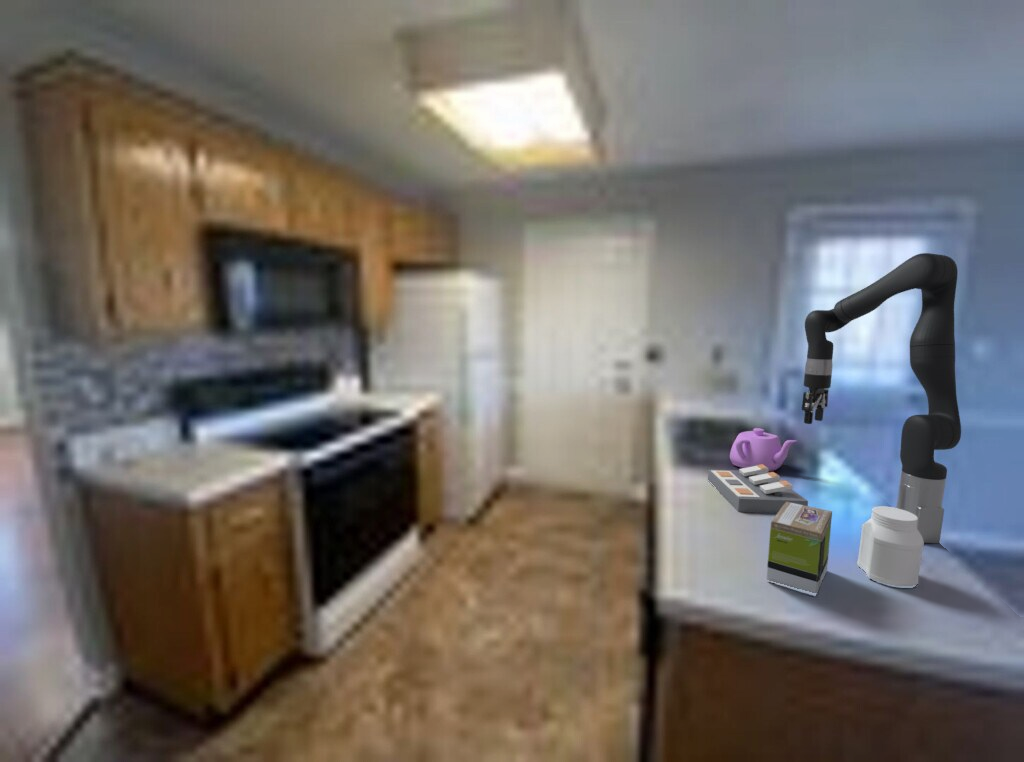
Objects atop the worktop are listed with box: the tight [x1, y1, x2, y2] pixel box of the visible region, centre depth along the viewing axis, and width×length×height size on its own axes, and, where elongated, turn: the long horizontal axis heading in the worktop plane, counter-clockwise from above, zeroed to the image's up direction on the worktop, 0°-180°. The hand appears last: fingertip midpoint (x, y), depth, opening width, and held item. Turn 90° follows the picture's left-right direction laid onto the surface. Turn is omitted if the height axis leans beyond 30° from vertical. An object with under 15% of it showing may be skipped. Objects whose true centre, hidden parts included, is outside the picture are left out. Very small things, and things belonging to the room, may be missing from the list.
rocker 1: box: [738, 464, 770, 476], centre depth 171 cm, size 4×8×1 cm, turn 87°
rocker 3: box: [760, 479, 794, 494], centre depth 155 cm, size 4×8×1 cm, turn 87°
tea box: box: [766, 502, 833, 594], centre depth 114 cm, size 15×10×15 cm, turn 141°
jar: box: [856, 505, 925, 586], centre depth 115 cm, size 12×10×15 cm
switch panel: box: [707, 469, 809, 514], centre depth 164 cm, size 27×20×5 cm
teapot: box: [729, 427, 797, 472], centre depth 189 cm, size 23×21×15 cm
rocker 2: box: [749, 471, 781, 485], centre depth 163 cm, size 4×8×1 cm, turn 87°
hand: (813, 422), depth 166 cm, fingers open, 8 cm apart
